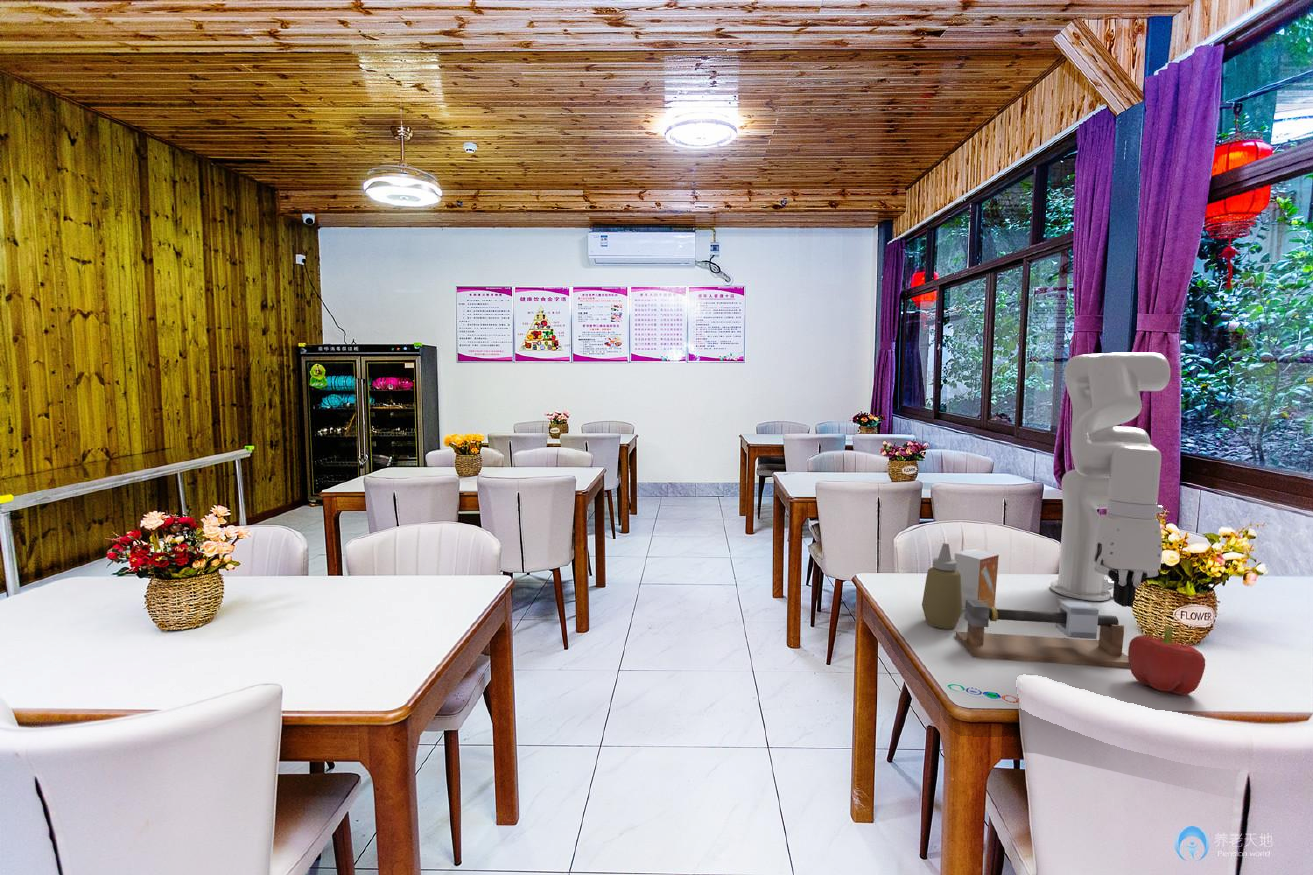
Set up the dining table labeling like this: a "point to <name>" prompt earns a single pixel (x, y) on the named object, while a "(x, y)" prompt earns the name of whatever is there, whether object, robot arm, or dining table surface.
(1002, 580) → the dining table surface
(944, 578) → the squeeze bottle
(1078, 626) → the sleeve
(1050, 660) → the rod stand
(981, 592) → the small box
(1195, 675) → the vegetable
